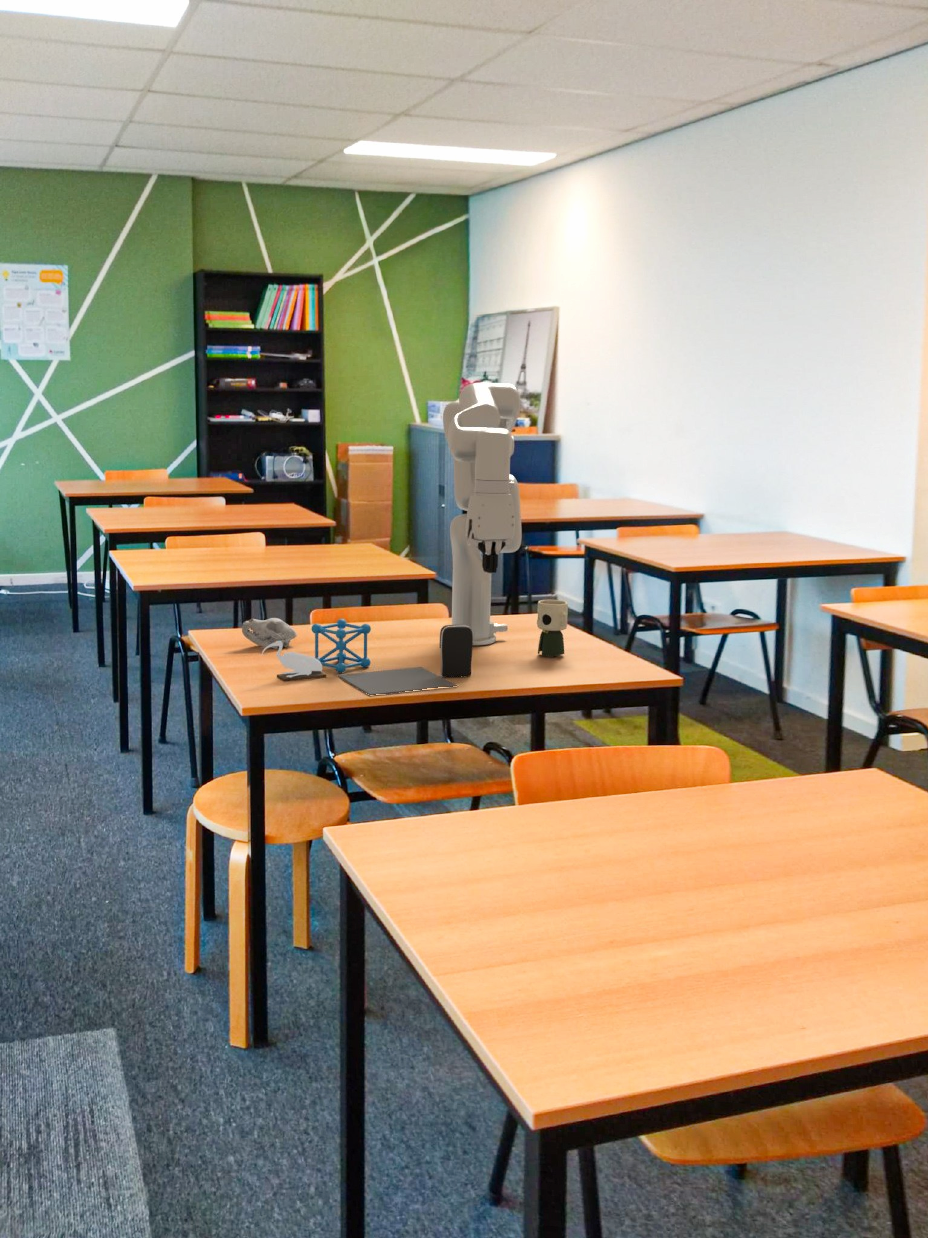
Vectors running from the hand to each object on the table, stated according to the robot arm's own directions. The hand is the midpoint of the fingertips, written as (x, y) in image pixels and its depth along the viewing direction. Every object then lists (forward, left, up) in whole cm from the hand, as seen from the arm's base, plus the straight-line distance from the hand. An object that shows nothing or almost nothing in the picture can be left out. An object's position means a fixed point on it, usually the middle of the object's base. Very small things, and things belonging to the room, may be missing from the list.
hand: (489, 571), depth 274 cm
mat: (+22, 0, -23) cm, 32 cm away
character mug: (-22, -9, -23) cm, 33 cm away
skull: (+36, -43, -23) cm, 61 cm away
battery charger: (+8, 0, -23) cm, 24 cm away
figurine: (+41, -12, -23) cm, 49 cm away
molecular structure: (+28, -17, -23) cm, 40 cm away
